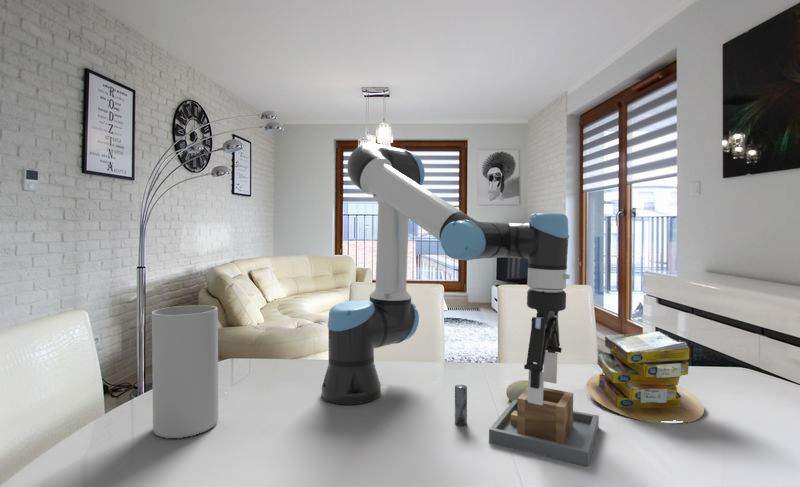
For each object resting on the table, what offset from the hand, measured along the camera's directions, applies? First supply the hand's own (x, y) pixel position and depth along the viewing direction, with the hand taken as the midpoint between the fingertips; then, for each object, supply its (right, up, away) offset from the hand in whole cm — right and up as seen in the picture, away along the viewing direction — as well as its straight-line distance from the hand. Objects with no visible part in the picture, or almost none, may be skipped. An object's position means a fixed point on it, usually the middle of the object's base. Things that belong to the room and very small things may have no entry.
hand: (543, 392), depth 88 cm
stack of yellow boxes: (+30, -9, +17) cm, 35 cm away
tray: (0, -9, 0) cm, 9 cm away
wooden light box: (-1, -8, 0) cm, 8 cm away
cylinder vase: (-75, -9, +3) cm, 76 cm away
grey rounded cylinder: (-16, -9, +5) cm, 19 cm away
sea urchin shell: (+2, -9, +17) cm, 19 cm away
